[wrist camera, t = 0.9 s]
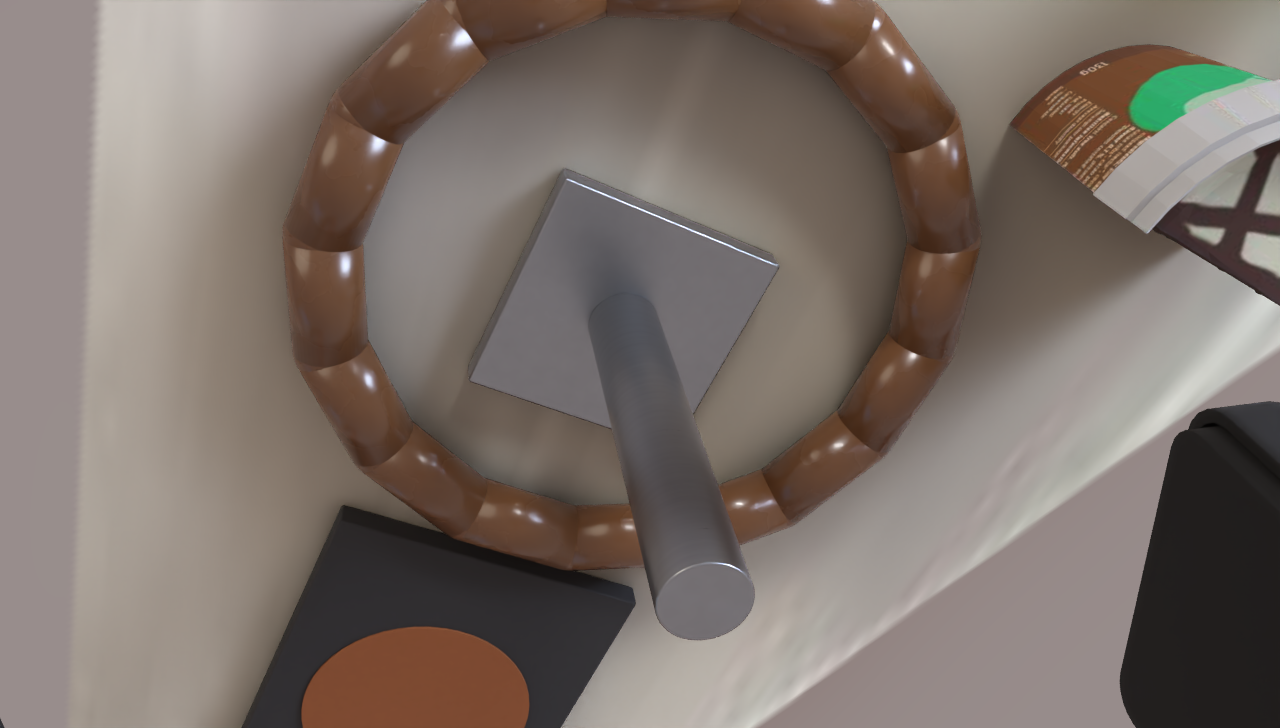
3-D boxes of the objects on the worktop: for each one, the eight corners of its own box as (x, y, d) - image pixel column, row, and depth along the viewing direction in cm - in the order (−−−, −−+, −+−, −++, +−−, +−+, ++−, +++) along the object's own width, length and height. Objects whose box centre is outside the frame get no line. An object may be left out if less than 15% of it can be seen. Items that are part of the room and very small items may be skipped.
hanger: (563, 166, 37) (630, 418, 24) (773, 253, 40) (932, 521, 27) (467, 367, 40) (481, 683, 28) (668, 435, 43) (766, 752, 30)
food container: (1345, 114, 41) (1587, 227, 32) (1224, 257, 43) (1420, 399, 34) (1096, -67, 36) (1302, 10, 28) (975, 104, 38) (1130, 224, 30)
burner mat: (342, 503, 42) (340, 522, 42) (633, 587, 47) (637, 605, 46) (211, 793, 49) (207, 815, 48) (478, 844, 53) (479, 865, 52)
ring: (450, -224, 31) (451, -217, 29) (1087, 110, 39) (1123, 133, 37) (200, 438, 40) (188, 478, 38) (759, 602, 48) (773, 643, 46)
